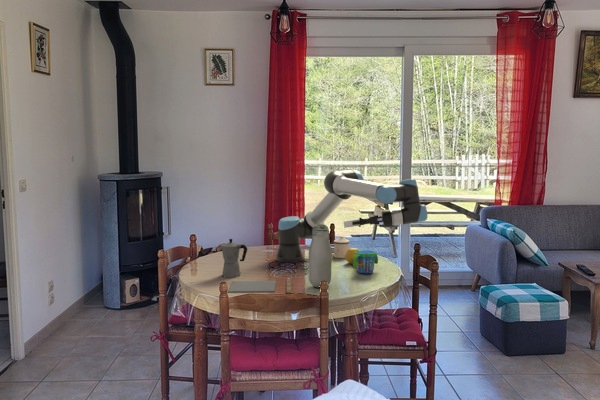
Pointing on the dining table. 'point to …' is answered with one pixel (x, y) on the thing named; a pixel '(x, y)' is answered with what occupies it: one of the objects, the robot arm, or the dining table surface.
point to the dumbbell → (350, 255)
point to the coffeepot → (232, 258)
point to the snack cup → (365, 261)
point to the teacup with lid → (340, 247)
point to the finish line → (288, 286)
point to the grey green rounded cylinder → (320, 256)
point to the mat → (252, 286)
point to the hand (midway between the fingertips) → (344, 224)
